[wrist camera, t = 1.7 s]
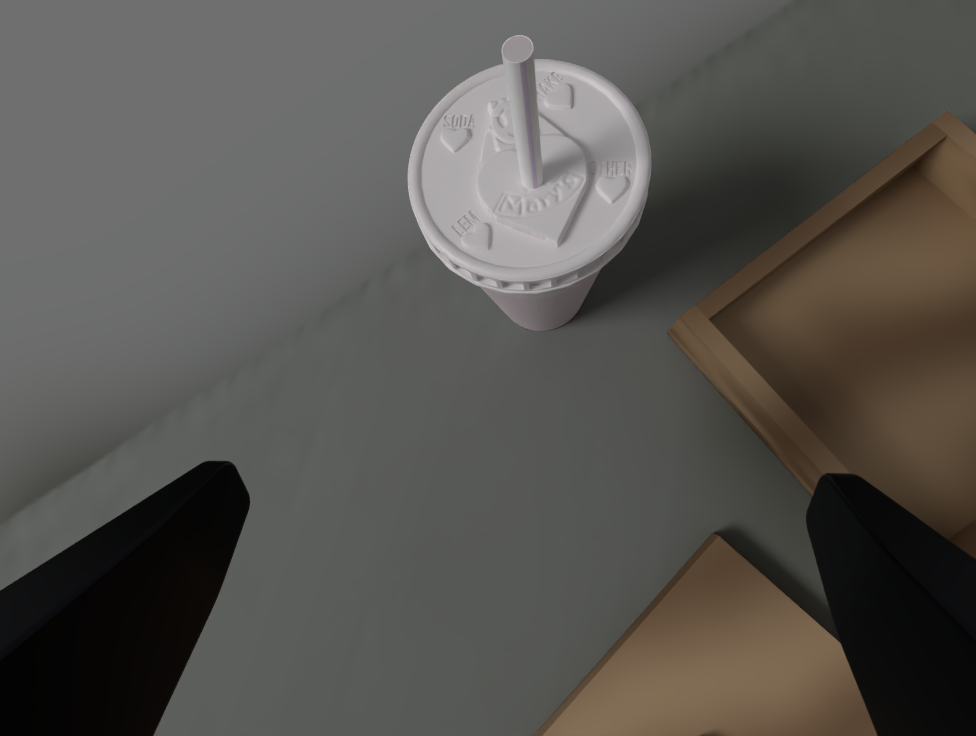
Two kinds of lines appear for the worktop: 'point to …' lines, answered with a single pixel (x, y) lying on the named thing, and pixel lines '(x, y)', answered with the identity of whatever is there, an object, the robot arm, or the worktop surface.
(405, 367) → the worktop surface
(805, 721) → the lid
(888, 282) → the wooden tray
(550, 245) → the smoothie
